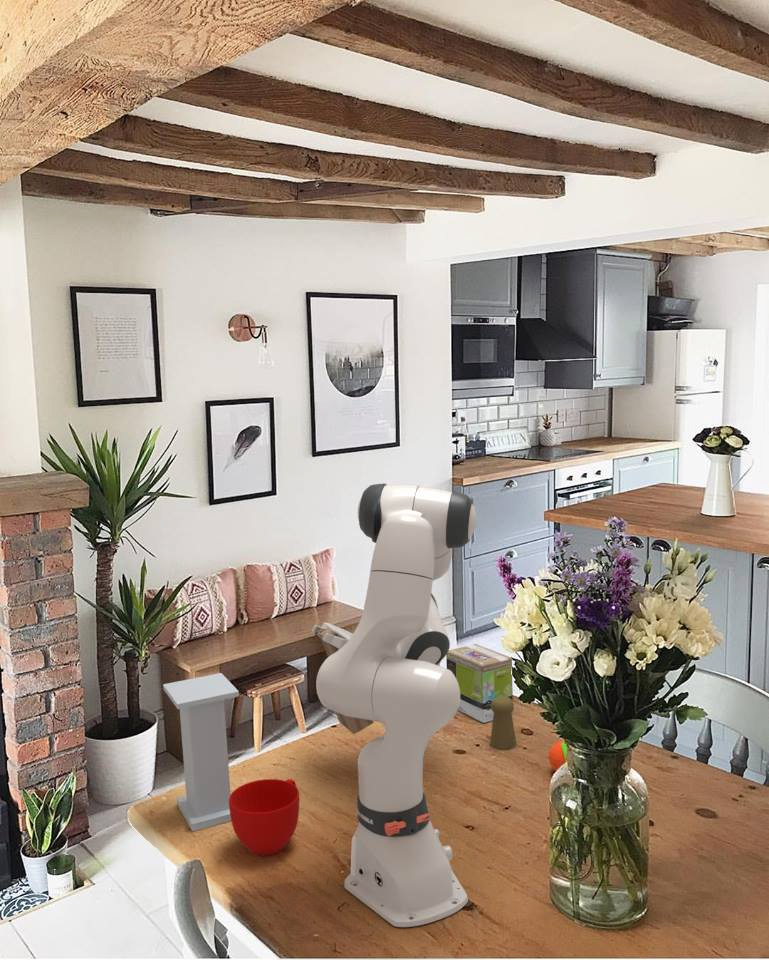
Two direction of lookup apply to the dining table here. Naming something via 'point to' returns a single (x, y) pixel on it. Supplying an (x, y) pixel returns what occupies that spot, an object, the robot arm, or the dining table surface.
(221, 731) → the painted stand
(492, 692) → the tea box
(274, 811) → the ceramic cup
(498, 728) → the brown pawn
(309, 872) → the dining table surface
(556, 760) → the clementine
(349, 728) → the handled block
